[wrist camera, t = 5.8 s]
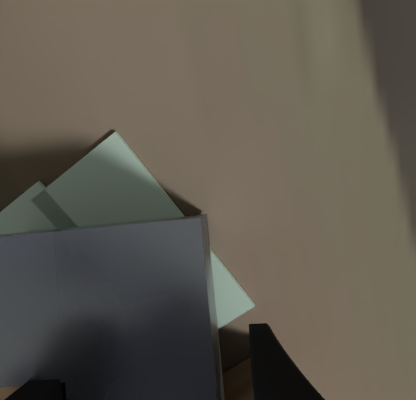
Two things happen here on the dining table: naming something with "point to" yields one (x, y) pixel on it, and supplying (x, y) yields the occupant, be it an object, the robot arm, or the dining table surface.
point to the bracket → (112, 310)
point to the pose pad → (112, 208)
